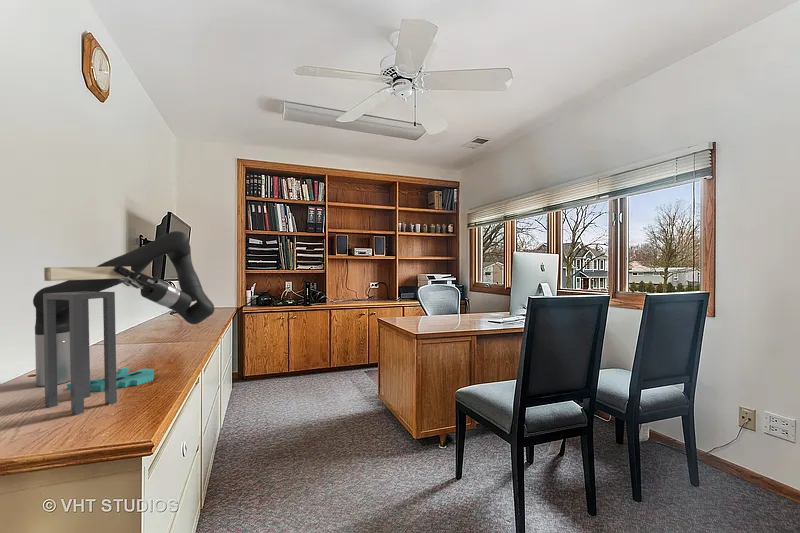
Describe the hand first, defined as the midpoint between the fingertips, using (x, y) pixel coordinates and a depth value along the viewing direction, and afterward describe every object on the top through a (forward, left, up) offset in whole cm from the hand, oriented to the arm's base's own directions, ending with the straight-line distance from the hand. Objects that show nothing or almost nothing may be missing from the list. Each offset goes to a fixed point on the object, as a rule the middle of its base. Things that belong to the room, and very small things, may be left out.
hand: (112, 267), depth 117 cm
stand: (0, -9, -39) cm, 40 cm away
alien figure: (-14, +9, -40) cm, 43 cm away
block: (0, -6, -3) cm, 6 cm away
